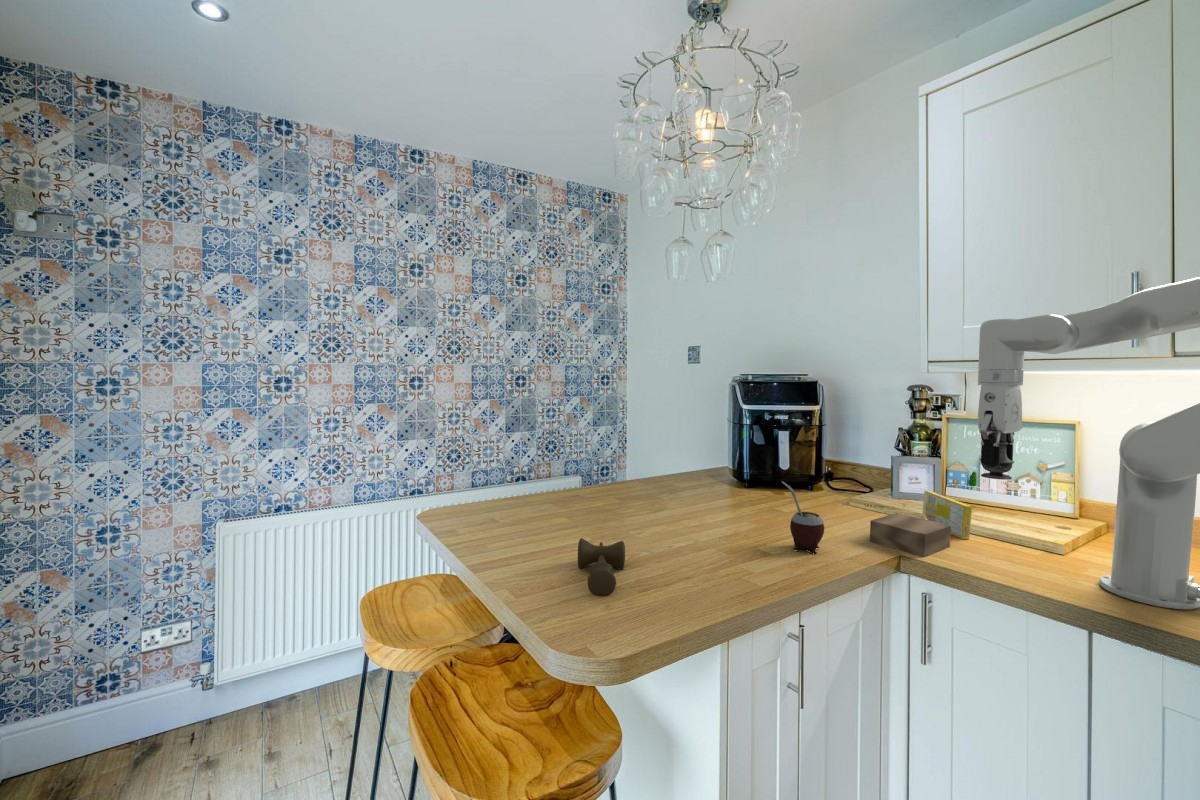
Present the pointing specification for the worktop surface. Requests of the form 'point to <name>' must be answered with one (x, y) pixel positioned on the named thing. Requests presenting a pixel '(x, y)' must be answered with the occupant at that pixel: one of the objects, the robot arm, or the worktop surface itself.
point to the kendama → (601, 565)
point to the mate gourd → (805, 528)
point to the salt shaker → (1005, 463)
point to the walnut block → (910, 534)
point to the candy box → (948, 513)
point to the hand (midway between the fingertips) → (996, 462)
